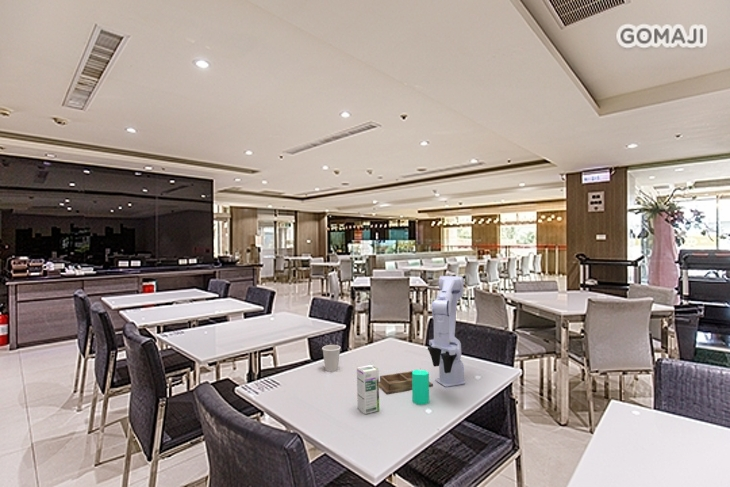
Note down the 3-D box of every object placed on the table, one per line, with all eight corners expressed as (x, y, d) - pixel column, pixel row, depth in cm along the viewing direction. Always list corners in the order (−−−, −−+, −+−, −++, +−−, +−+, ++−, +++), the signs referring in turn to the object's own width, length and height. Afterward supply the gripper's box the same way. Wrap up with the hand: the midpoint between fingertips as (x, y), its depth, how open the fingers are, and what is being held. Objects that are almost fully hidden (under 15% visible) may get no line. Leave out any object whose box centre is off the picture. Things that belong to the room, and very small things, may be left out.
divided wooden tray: (420, 377, 156) (419, 369, 156) (432, 386, 147) (432, 377, 147) (376, 384, 149) (376, 375, 149) (386, 394, 140) (386, 385, 139)
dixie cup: (344, 368, 168) (344, 346, 168) (333, 374, 161) (333, 351, 161) (330, 365, 173) (329, 343, 173) (318, 370, 166) (318, 348, 166)
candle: (428, 405, 130) (428, 371, 130) (411, 404, 131) (411, 370, 131) (429, 398, 136) (429, 365, 136) (413, 397, 137) (412, 364, 137)
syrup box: (364, 415, 123) (364, 371, 123) (356, 407, 129) (356, 366, 129) (379, 411, 126) (379, 368, 126) (371, 404, 131) (370, 363, 131)
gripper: (422, 329, 142) (422, 364, 142) (443, 338, 128) (443, 377, 128) (438, 327, 144) (438, 362, 144) (460, 336, 131) (460, 374, 131)
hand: (441, 369), depth 136 cm, fingers open, 7 cm apart
